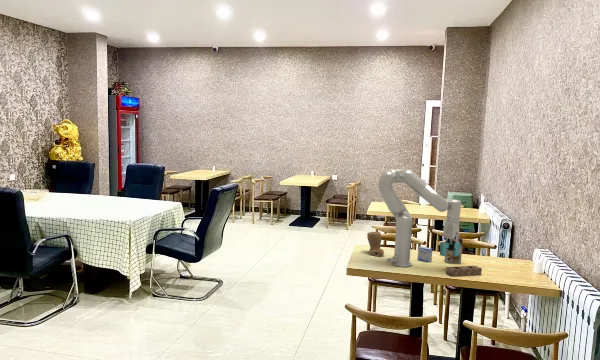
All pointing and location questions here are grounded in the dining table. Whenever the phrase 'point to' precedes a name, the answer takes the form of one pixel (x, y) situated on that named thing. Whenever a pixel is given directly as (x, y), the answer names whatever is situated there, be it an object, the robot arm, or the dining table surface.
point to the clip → (446, 245)
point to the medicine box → (424, 254)
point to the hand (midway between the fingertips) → (449, 249)
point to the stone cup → (375, 243)
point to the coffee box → (450, 257)
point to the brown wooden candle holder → (463, 271)
